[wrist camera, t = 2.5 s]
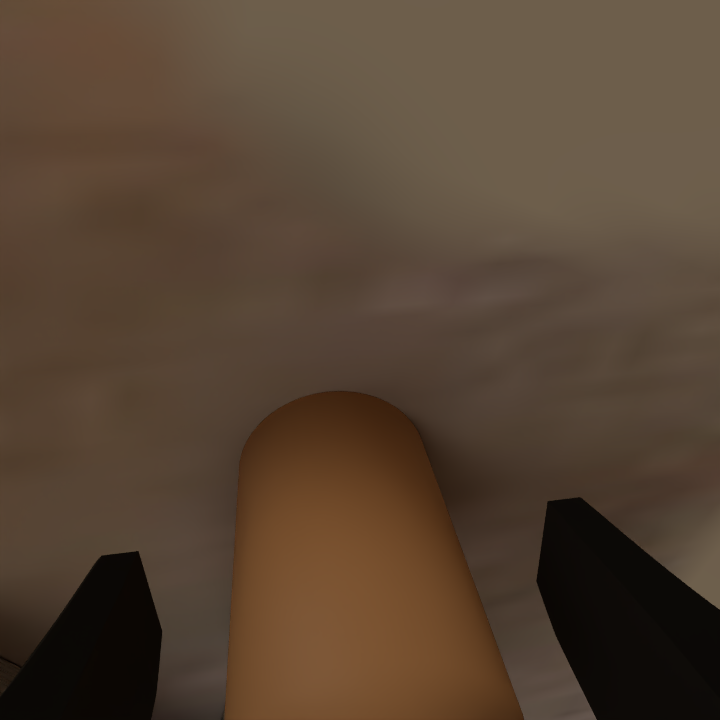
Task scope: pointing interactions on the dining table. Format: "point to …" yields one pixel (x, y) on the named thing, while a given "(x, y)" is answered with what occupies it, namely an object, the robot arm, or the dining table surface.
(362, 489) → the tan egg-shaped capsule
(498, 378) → the dining table surface
